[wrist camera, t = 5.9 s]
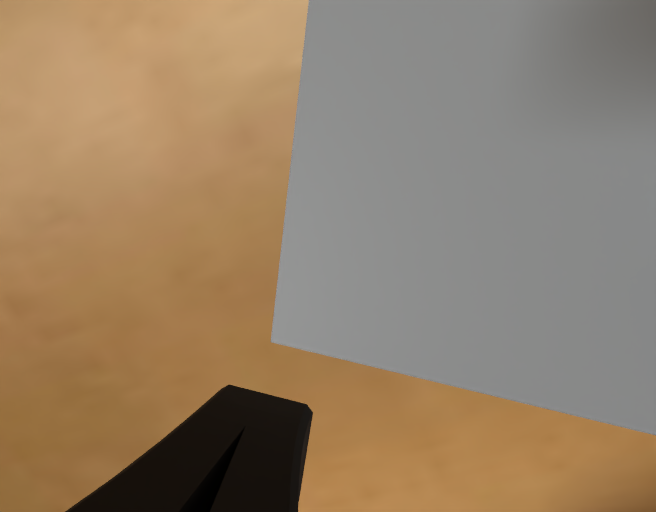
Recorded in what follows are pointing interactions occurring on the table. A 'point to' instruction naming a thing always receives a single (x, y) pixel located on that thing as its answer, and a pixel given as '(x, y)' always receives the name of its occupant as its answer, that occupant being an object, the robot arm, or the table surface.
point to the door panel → (479, 198)
